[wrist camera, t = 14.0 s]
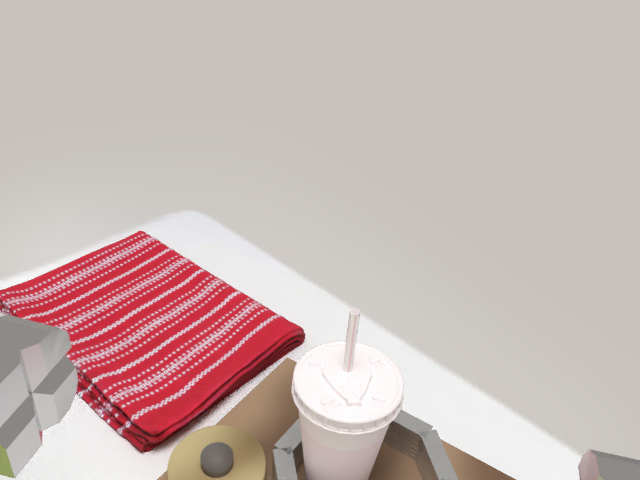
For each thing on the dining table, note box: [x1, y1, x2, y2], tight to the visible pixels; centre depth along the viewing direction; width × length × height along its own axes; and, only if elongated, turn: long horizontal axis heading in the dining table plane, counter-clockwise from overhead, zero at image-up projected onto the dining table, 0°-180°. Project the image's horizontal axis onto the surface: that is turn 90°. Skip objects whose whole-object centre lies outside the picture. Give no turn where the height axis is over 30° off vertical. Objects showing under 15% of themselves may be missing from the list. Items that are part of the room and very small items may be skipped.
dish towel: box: [0, 231, 305, 452], centre depth 52 cm, size 17×24×3 cm
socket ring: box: [272, 410, 458, 480], centre depth 38 cm, size 11×11×2 cm
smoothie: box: [291, 308, 404, 480], centre depth 35 cm, size 6×6×14 cm
